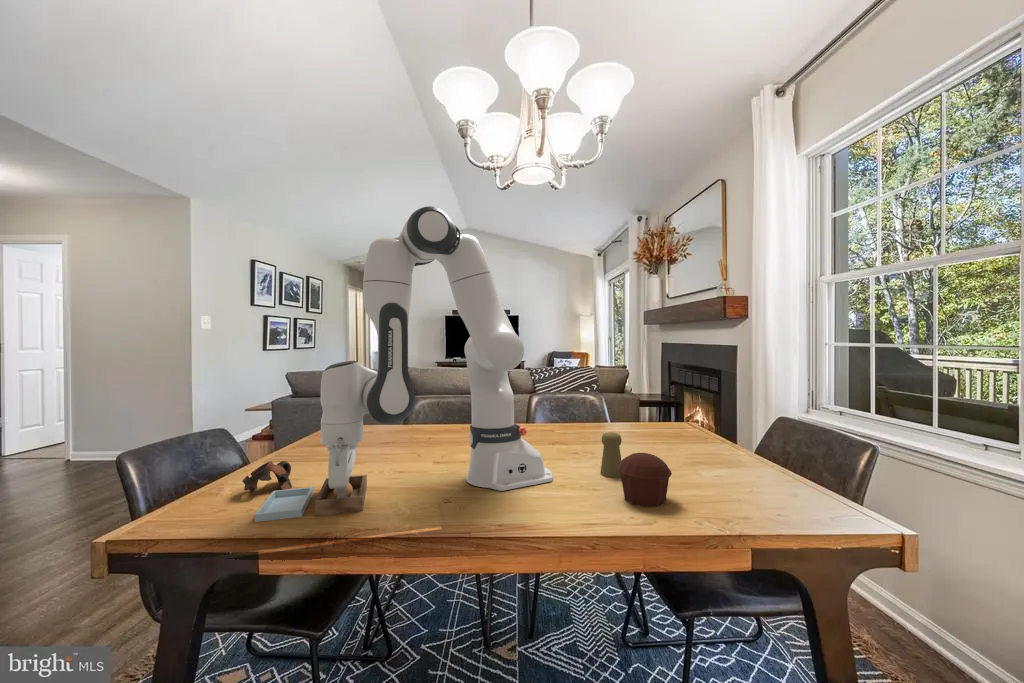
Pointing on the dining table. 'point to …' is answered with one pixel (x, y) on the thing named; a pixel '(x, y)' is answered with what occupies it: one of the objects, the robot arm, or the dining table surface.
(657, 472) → the muffin
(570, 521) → the dining table surface
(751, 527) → the dining table surface
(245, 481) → the brown curved piece
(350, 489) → the ball
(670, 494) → the dining table surface
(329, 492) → the wooden planter box
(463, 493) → the dining table surface
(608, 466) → the cork
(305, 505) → the tray
